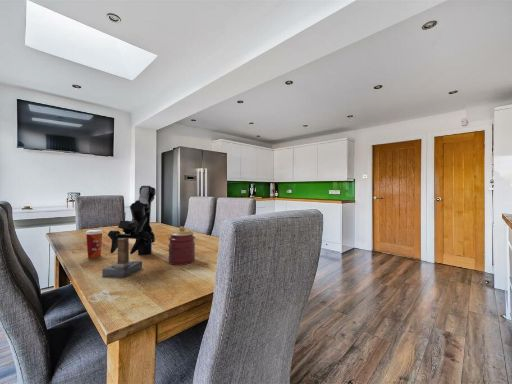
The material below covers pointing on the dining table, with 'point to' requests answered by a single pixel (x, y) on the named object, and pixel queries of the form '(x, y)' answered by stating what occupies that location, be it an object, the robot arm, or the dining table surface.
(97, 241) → the paper cup
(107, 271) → the holder block
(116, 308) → the dining table surface
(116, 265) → the slot cleaner tool
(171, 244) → the canister
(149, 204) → the robot arm
